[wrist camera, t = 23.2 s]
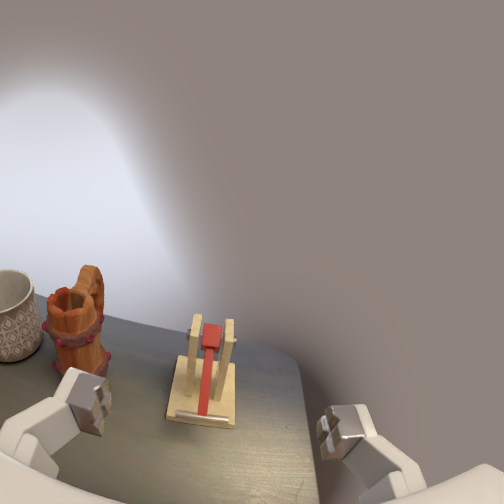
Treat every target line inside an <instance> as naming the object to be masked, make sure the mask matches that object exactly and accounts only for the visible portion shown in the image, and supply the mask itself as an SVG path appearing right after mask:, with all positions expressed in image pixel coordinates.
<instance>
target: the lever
mask: <svg viewBox="0 0 504 504" xmlns="http://www.w3.org/2000/svg"><path fill="white" fill-rule="evenodd" d="M221 333H222V326H217V325H211V324H204V329H203V336H202V343H201V350H203V351H205V355H204V363H203V371H202V379H201V387H200V395H199V404H198V413H196V412H190V411H183V410H177V409H176V412H175V418H178V419H184V420H190V421H197V422H204V423H212V424H220V425H228V423H229V417H228V416H219V415H211V414H207V413H208V403H209V394H210V385H211V376H212V367H213V359H214V352H216V353H218V351H219V348H220V342H221Z"/></svg>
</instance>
